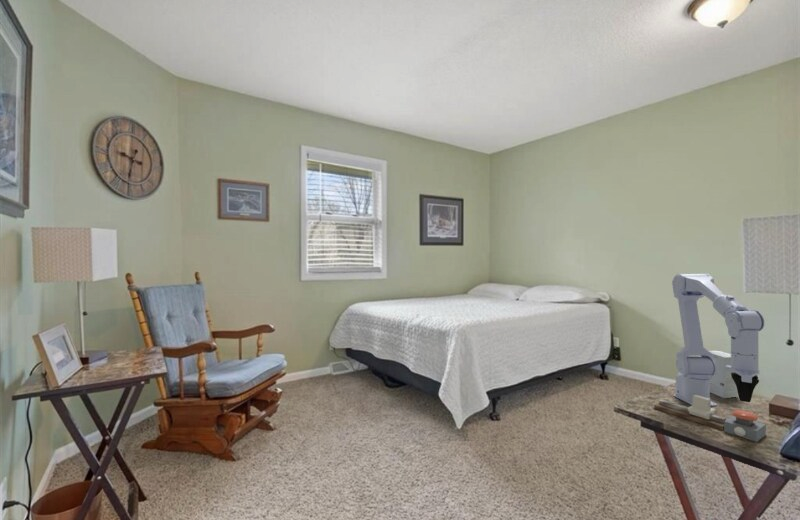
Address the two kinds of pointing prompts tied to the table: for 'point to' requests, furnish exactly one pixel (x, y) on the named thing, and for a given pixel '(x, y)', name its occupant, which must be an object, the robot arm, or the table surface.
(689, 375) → the robot arm
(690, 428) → the table surface
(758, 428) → the grey square base
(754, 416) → the button
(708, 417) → the carriage
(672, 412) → the rail board
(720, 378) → the skincare box
